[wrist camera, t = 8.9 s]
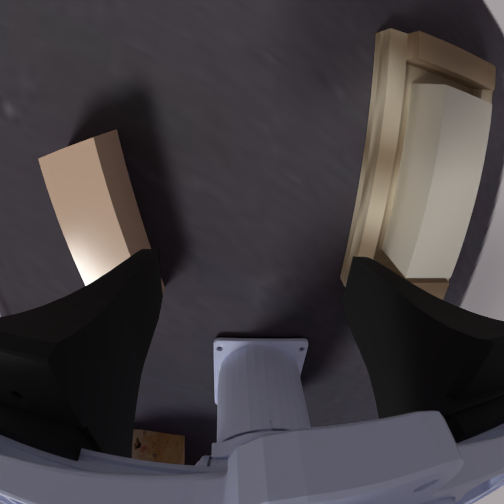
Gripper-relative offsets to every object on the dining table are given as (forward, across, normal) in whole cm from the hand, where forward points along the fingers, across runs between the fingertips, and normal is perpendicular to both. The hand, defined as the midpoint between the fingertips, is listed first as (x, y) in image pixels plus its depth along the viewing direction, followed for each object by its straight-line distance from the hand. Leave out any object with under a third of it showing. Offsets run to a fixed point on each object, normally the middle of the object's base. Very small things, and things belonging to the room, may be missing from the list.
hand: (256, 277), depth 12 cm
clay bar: (+9, -12, -3) cm, 15 cm away
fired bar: (+10, +9, +2) cm, 14 cm away
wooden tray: (+10, -12, -3) cm, 16 cm away
